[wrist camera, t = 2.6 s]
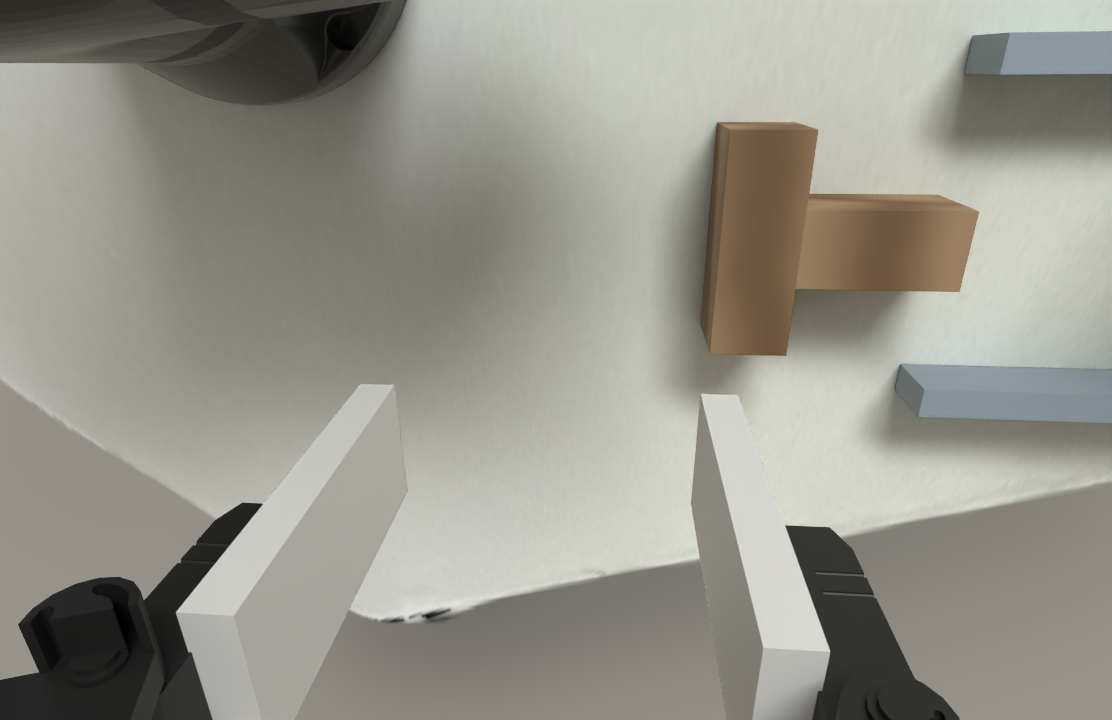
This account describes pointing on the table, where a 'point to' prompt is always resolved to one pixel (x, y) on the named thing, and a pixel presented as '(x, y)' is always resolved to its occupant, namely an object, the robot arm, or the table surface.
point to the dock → (1019, 387)
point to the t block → (810, 238)
